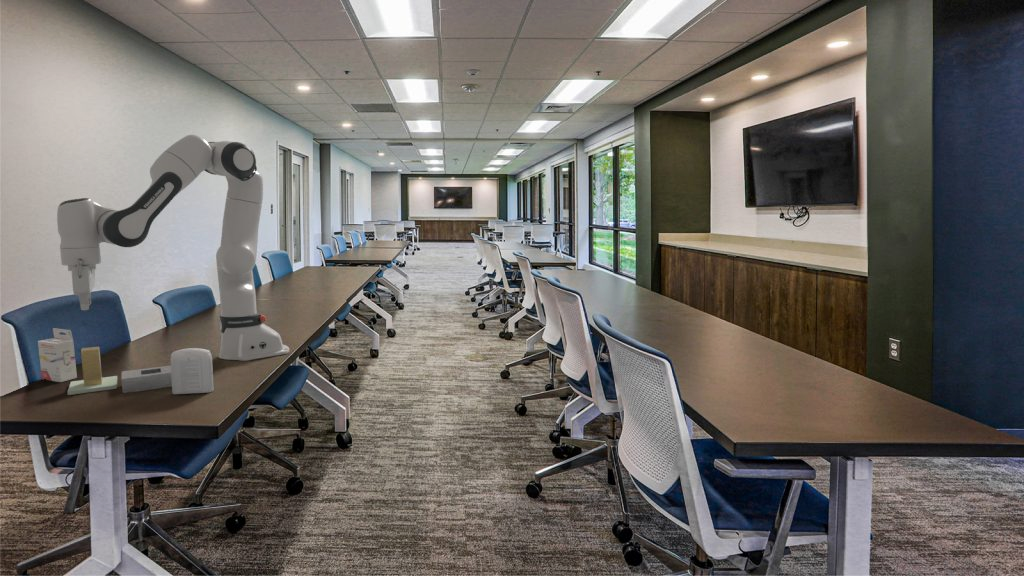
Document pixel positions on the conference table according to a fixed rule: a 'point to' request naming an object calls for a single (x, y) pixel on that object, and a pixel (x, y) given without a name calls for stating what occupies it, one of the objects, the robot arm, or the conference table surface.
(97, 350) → the brass peg
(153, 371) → the grey block with holes
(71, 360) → the ink cartridge box
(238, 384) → the conference table surface
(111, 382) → the sage mat
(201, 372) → the photo printer
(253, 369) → the conference table surface
